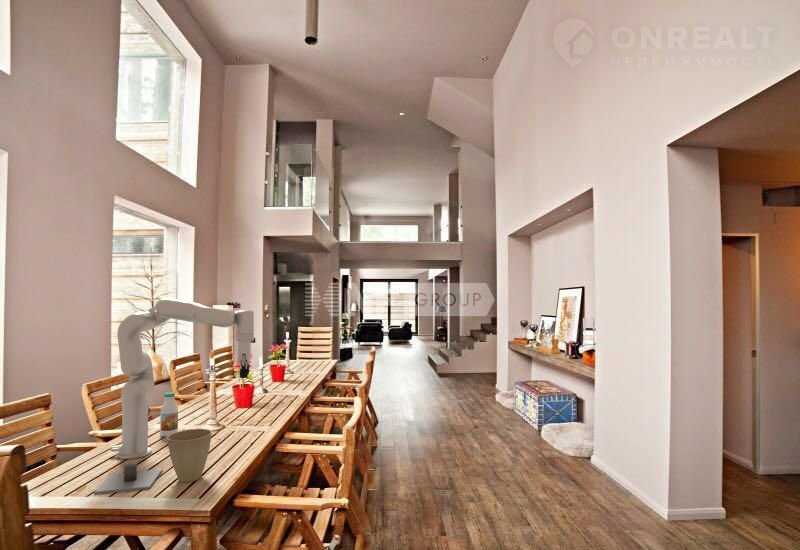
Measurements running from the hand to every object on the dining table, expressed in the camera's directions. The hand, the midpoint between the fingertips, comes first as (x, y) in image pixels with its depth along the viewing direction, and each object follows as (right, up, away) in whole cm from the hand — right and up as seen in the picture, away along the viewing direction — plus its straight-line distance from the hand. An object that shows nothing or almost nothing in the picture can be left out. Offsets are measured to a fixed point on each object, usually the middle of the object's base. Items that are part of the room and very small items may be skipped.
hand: (244, 376), depth 208 cm
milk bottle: (-43, -32, +18) cm, 56 cm away
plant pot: (-7, -29, -39) cm, 49 cm away
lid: (-27, -30, -41) cm, 58 cm away
